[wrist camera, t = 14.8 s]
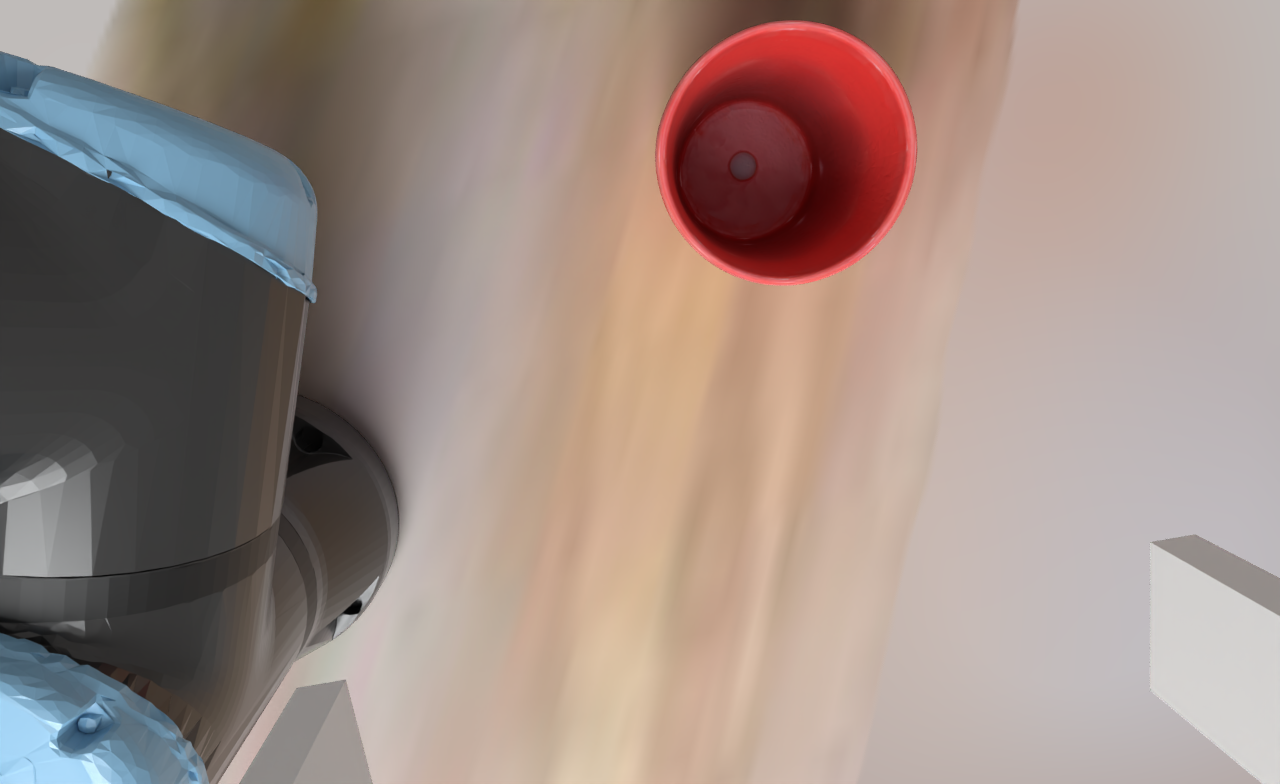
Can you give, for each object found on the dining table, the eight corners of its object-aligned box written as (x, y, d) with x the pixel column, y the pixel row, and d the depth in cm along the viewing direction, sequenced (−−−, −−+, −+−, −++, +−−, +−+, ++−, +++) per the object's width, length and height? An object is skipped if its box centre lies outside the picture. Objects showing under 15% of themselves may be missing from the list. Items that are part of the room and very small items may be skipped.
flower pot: (657, 44, 40) (681, -8, 31) (862, 85, 41) (946, 46, 32) (624, 253, 42) (636, 263, 33) (820, 285, 44) (886, 304, 34)
